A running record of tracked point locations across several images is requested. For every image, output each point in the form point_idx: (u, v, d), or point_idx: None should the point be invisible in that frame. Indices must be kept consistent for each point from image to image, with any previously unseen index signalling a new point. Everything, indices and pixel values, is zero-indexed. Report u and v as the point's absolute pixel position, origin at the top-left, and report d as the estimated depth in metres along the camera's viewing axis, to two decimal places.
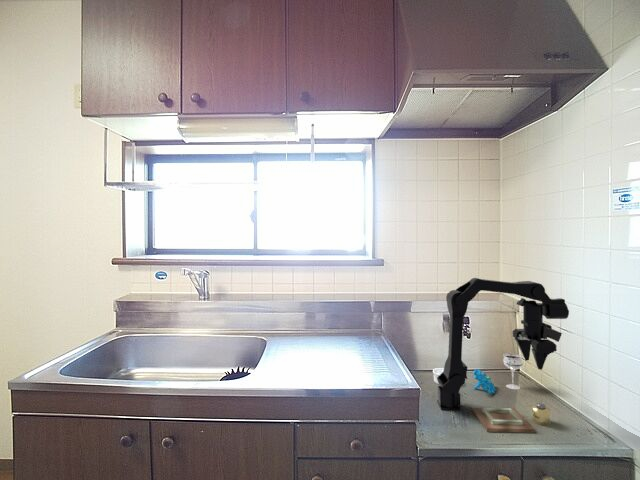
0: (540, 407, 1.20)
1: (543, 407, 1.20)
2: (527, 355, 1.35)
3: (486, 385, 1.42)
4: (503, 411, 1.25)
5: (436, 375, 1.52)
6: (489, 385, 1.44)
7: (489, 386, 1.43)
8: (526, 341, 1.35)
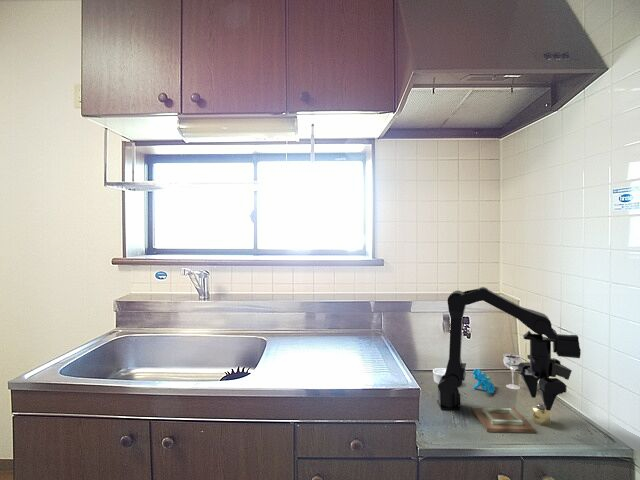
0: (540, 407, 1.20)
1: (543, 407, 1.20)
2: (534, 392, 1.25)
3: (485, 385, 1.43)
4: (503, 411, 1.25)
5: (436, 375, 1.52)
6: (488, 385, 1.44)
7: (488, 386, 1.43)
8: (533, 377, 1.26)
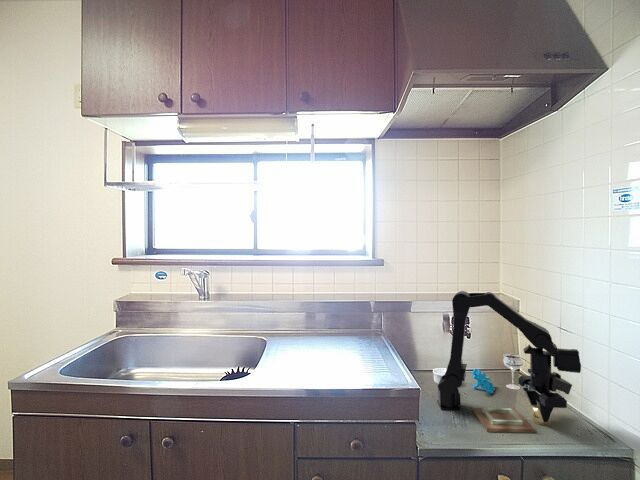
0: None
1: None
2: None
3: (485, 385, 1.43)
4: (503, 411, 1.25)
5: (436, 375, 1.52)
6: (488, 385, 1.44)
7: (488, 386, 1.43)
8: (536, 393, 1.24)
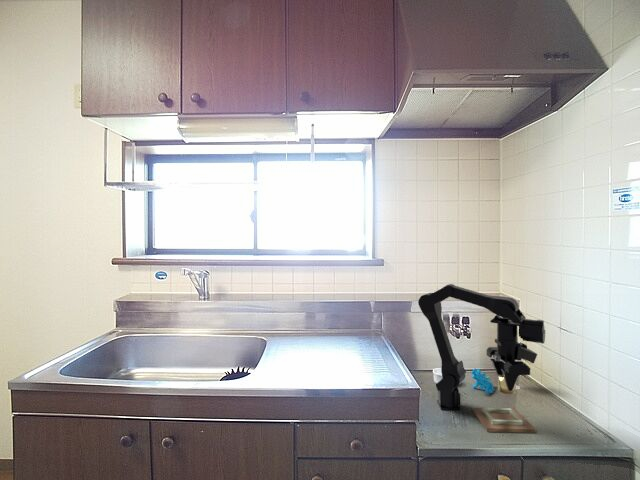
0: None
1: None
2: None
3: (484, 385, 1.43)
4: (503, 411, 1.25)
5: (436, 375, 1.52)
6: (487, 385, 1.44)
7: (487, 386, 1.44)
8: (502, 363, 1.25)
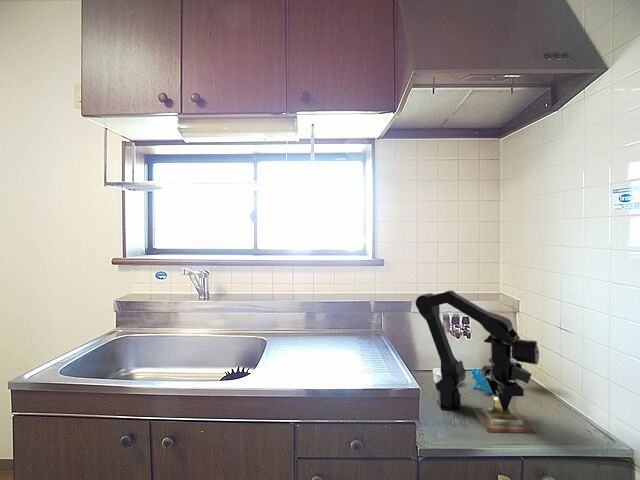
0: None
1: None
2: None
3: (483, 384, 1.43)
4: None
5: (436, 375, 1.52)
6: (487, 385, 1.44)
7: (487, 385, 1.44)
8: (497, 382, 1.25)
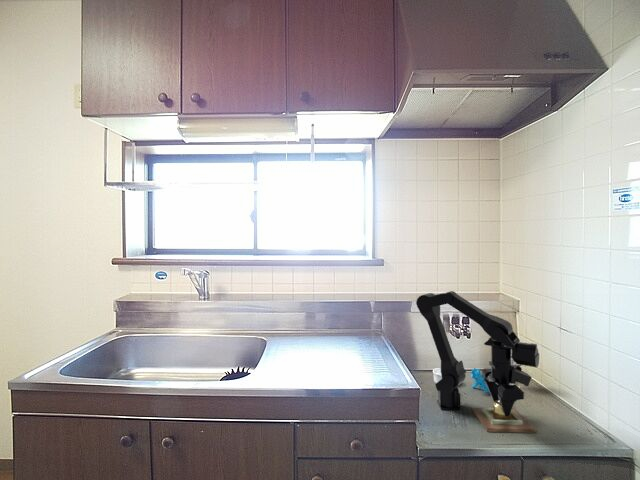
0: (500, 403, 1.21)
1: None
2: (497, 399, 1.26)
3: (483, 384, 1.43)
4: None
5: (436, 375, 1.52)
6: None
7: (486, 385, 1.44)
8: (496, 383, 1.26)
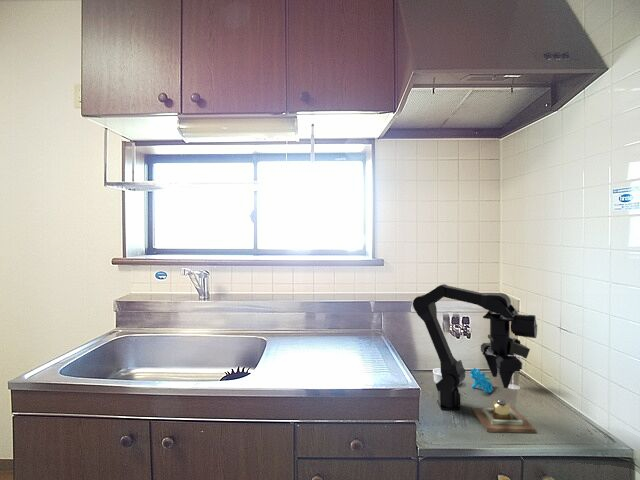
0: (500, 403, 1.21)
1: (503, 403, 1.20)
2: (495, 371, 1.27)
3: (482, 384, 1.43)
4: None
5: (436, 375, 1.52)
6: (486, 384, 1.45)
7: (486, 385, 1.44)
8: (494, 356, 1.27)
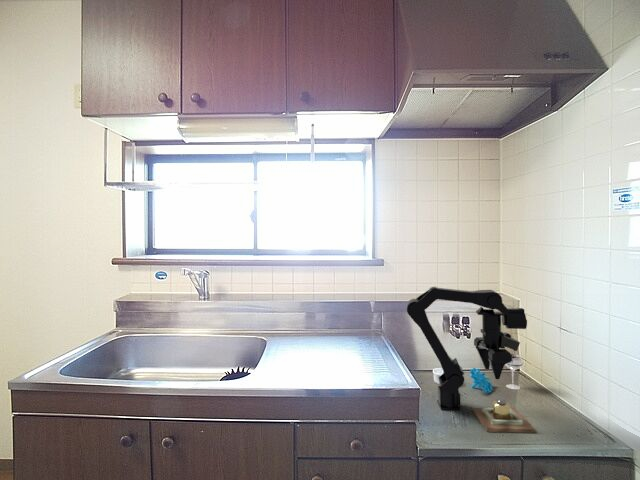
0: (500, 403, 1.21)
1: (503, 403, 1.20)
2: (487, 364, 1.34)
3: (482, 384, 1.44)
4: None
5: (436, 375, 1.52)
6: (486, 384, 1.45)
7: (485, 385, 1.44)
8: (486, 350, 1.34)
